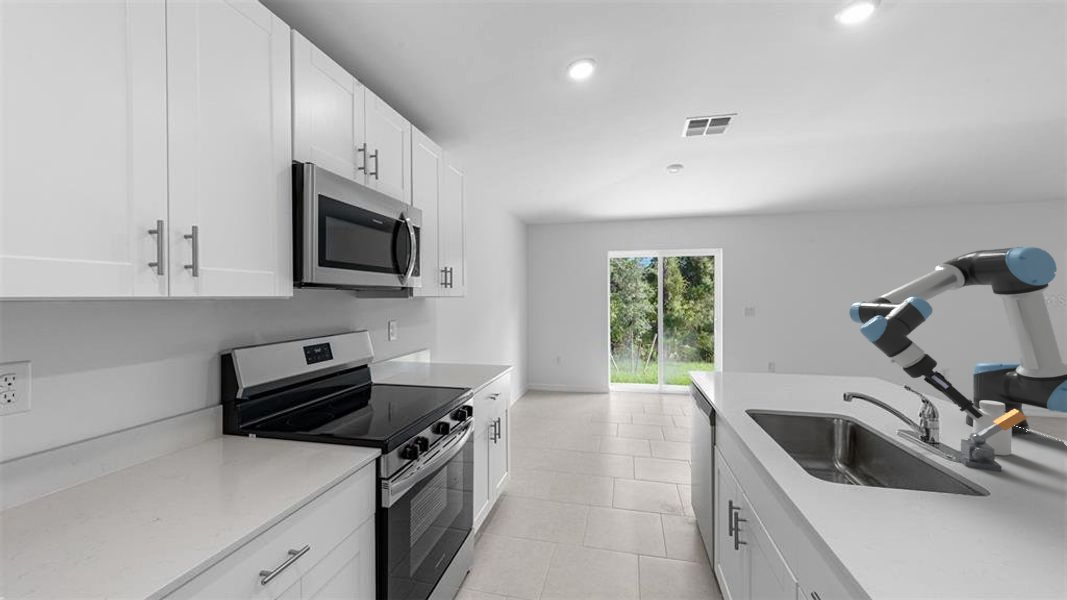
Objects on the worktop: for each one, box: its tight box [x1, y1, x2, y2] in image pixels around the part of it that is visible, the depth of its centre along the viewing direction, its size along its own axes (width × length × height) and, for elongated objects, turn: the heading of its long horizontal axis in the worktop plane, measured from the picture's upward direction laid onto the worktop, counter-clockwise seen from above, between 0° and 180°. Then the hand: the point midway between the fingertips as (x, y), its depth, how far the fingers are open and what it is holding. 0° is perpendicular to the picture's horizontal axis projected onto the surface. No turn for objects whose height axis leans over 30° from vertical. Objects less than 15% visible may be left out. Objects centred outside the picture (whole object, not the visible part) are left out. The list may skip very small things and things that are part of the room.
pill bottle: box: [972, 400, 1013, 456], centre depth 128 cm, size 8×8×15 cm
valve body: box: [954, 438, 1002, 472], centre depth 119 cm, size 7×9×6 cm
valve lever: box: [968, 409, 1028, 445], centre depth 117 cm, size 2×3×13 cm
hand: (989, 425), depth 118 cm, fingers closed
